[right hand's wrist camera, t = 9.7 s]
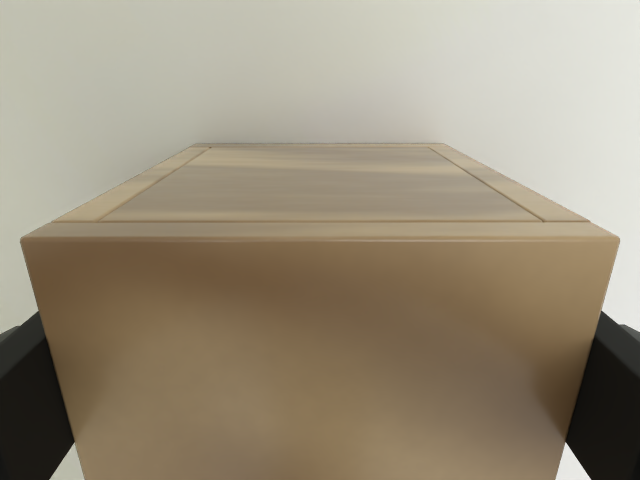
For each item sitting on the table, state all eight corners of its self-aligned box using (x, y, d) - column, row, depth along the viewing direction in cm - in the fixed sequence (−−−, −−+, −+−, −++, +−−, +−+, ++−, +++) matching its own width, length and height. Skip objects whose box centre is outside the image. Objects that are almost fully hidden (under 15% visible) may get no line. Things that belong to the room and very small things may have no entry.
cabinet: (413, 446, 24) (487, 735, 14) (226, 446, 24) (153, 736, 14) (444, 143, 18) (623, 237, 8) (194, 143, 18) (15, 237, 7)
